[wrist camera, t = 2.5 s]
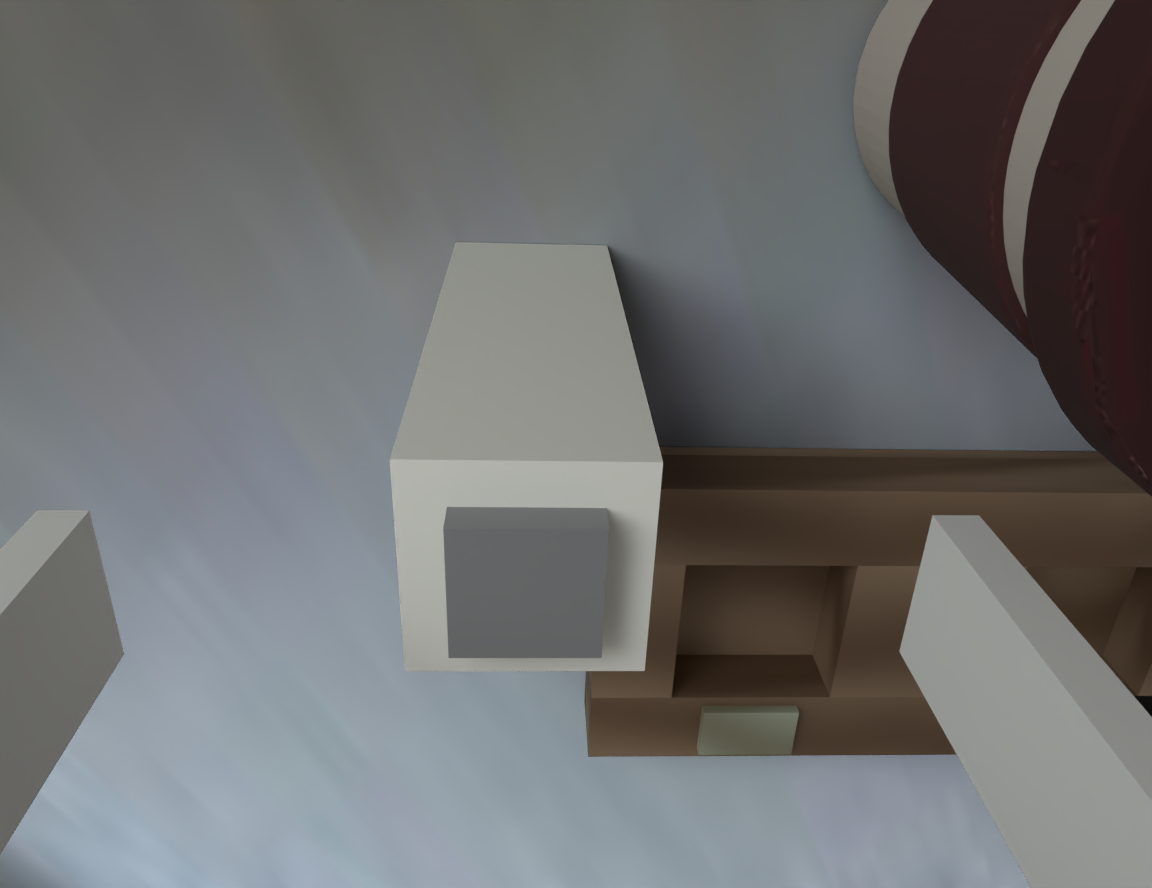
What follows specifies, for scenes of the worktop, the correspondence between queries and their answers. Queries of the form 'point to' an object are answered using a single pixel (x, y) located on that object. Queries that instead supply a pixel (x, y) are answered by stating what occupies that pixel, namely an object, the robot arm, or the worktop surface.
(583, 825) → the worktop surface
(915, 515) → the socket board
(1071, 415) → the coffee cup
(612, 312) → the plug
